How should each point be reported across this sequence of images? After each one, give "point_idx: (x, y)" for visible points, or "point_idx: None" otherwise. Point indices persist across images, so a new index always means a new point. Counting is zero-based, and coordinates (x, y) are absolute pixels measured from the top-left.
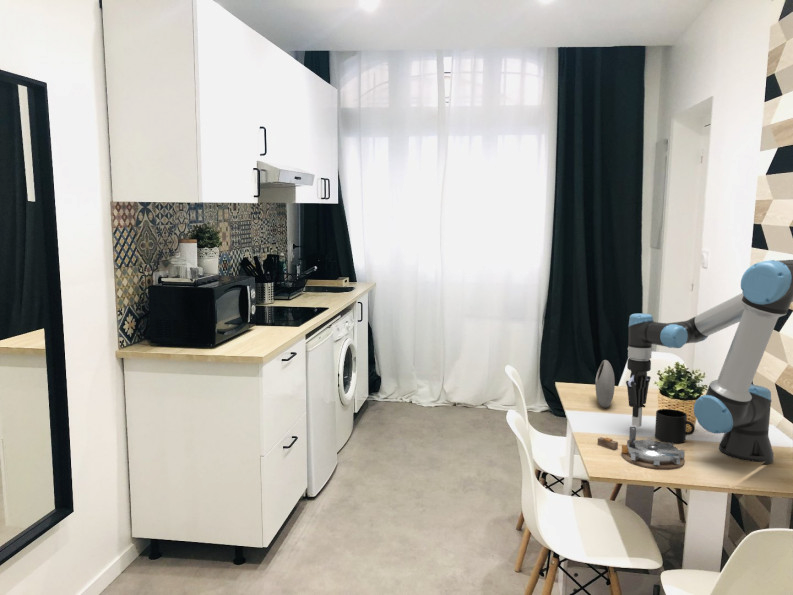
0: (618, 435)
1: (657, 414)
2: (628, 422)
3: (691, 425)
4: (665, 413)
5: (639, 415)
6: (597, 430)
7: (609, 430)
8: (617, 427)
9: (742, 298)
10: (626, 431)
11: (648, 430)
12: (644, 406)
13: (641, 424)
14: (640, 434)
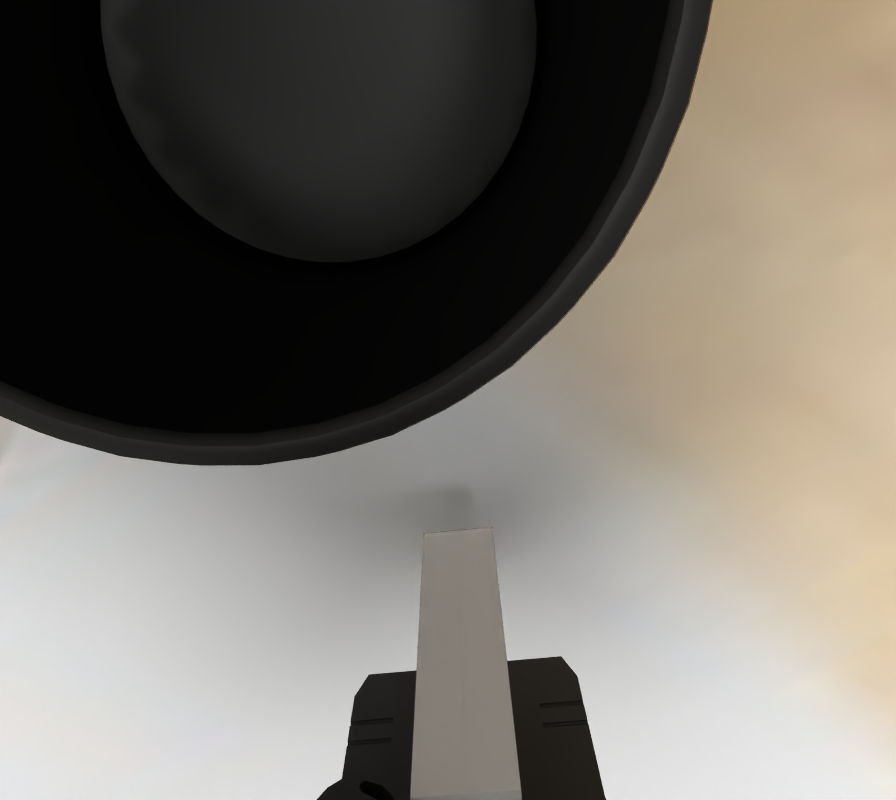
0: (780, 571)
1: (591, 269)
2: (217, 764)
3: None
4: (42, 330)
5: (504, 662)
6: (789, 784)
7: (682, 721)
8: None
9: None
10: (550, 602)
11: (260, 474)
12: (367, 798)
13: (424, 546)
14: (510, 440)
